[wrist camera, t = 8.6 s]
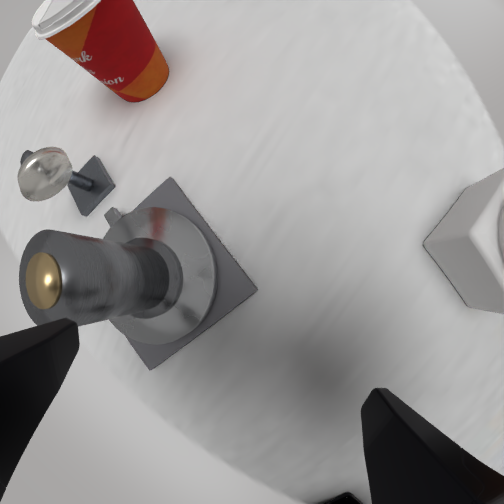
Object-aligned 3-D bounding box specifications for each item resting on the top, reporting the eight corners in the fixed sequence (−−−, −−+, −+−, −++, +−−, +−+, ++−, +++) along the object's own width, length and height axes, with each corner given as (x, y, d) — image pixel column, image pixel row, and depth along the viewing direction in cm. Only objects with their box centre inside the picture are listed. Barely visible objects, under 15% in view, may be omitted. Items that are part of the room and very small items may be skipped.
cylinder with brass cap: (198, 268, 19) (107, 265, 9) (157, 332, 20) (58, 372, 9) (140, 224, 20) (37, 192, 10) (105, 285, 20) (-1, 290, 10)
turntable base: (257, 289, 21) (256, 290, 20) (153, 368, 22) (149, 370, 21) (172, 178, 22) (170, 176, 22) (86, 263, 23) (82, 263, 23)
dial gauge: (116, 184, 23) (45, 150, 14) (85, 217, 24) (10, 197, 14) (100, 156, 24) (34, 118, 15) (71, 188, 24) (2, 162, 15)
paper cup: (106, 80, 25) (30, 8, 11) (166, 42, 24) (109, -49, 10) (120, 127, 24) (21, 48, 10) (190, 83, 23) (121, -28, 9)
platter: (246, 289, 20) (243, 290, 19) (148, 363, 21) (141, 368, 20) (158, 172, 22) (151, 167, 21) (79, 251, 22) (70, 250, 21)
